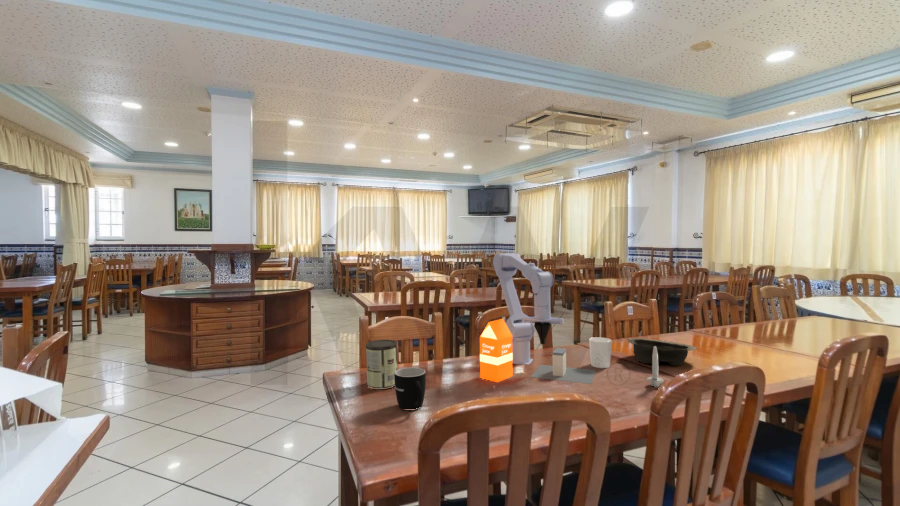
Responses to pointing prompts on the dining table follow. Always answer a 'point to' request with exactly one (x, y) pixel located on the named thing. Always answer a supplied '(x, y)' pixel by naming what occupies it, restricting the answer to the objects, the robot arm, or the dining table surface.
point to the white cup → (600, 352)
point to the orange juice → (496, 352)
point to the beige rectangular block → (559, 362)
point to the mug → (410, 387)
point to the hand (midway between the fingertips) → (543, 343)
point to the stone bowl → (660, 351)
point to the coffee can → (381, 363)
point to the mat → (569, 375)
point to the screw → (655, 370)
